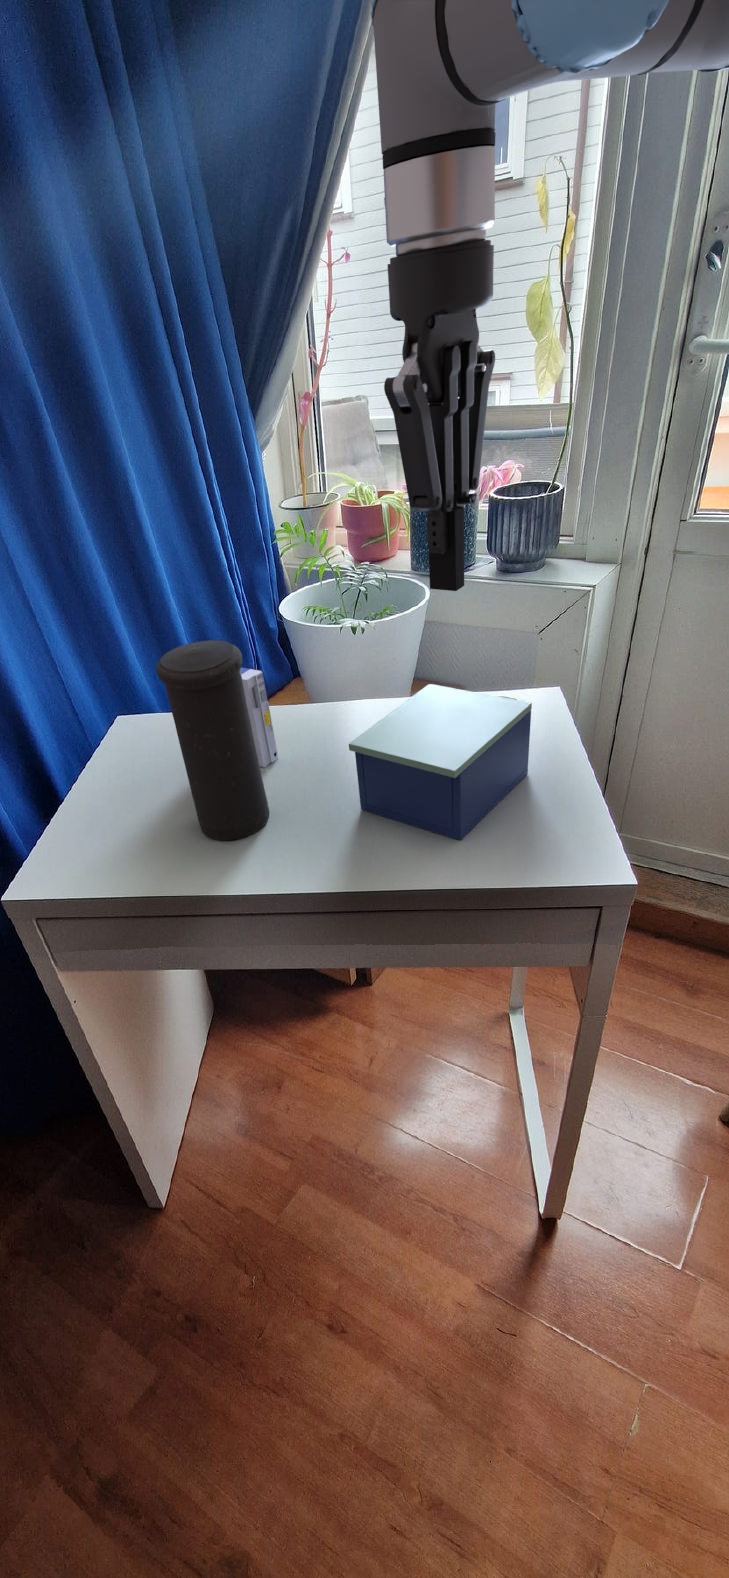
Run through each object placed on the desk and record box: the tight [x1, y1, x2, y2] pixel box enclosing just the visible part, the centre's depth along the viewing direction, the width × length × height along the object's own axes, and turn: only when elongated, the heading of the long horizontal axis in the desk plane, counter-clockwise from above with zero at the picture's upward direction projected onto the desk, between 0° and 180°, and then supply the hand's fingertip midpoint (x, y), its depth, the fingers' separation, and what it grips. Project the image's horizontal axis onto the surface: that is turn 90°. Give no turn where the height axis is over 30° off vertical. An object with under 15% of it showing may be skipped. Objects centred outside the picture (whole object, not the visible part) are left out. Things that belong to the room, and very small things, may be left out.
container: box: [156, 639, 270, 841], centre depth 80 cm, size 9×9×20 cm
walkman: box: [240, 666, 279, 768], centre depth 94 cm, size 8×3×12 cm, turn 52°
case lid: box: [348, 683, 533, 778], centre depth 80 cm, size 16×13×1 cm
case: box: [354, 709, 532, 841], centre depth 83 cm, size 15×13×8 cm
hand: (447, 587), depth 68 cm, fingers closed
